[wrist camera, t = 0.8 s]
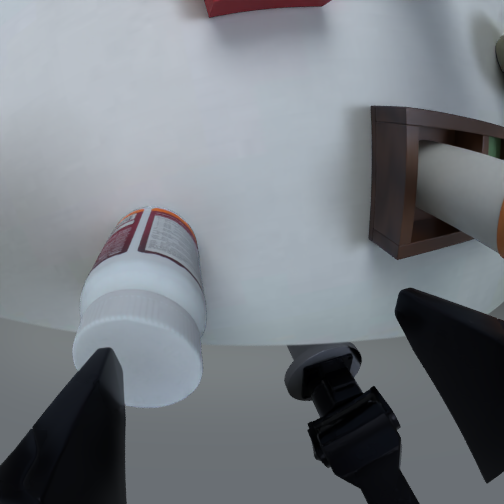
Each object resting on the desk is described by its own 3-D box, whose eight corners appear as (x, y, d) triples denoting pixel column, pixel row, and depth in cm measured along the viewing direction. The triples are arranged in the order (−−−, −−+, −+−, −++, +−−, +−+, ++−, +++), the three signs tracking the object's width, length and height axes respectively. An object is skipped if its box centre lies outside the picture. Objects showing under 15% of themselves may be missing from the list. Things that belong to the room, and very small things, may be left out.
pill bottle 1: (116, 285, 20) (84, 411, 10) (108, 204, 17) (37, 302, 7) (197, 284, 21) (215, 414, 11) (199, 203, 19) (219, 304, 9)
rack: (492, 213, 26) (516, 226, 23) (368, 238, 23) (397, 260, 19) (500, 127, 21) (527, 134, 18) (370, 105, 18) (405, 107, 15)
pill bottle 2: (442, 204, 23) (533, 254, 13) (396, 211, 22) (497, 274, 12) (447, 140, 20) (549, 171, 10) (399, 136, 19) (519, 169, 9)
